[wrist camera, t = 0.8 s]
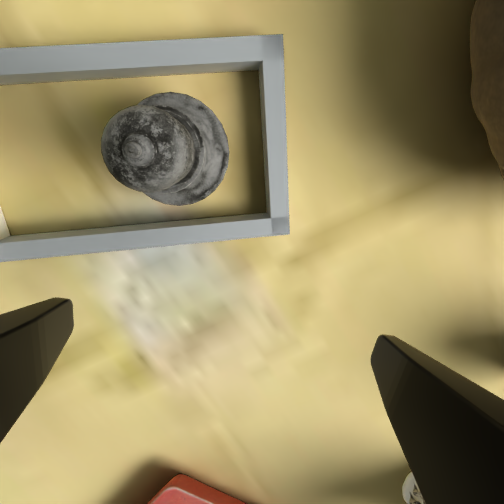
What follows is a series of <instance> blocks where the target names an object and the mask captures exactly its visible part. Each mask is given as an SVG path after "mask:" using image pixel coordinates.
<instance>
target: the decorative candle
mask: <svg viewBox="0 0 504 504" xmlns="http://www.w3.org/2000/svg"><path fill="white" fill-rule="evenodd" d="M402 494H403V498H404V500H405V501H406V502H407V504H425V502H424V499H423V497H422V495H421V492H420V490H419V488H418V485H417V483H416V481H415V478H414V476H413V474H412V471H411V472H410V473H409V474H408V475H407V477H406V479H405V481H404V483H403V486H402Z"/></svg>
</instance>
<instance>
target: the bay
mask: <svg viewBox="0 0 504 504" xmlns="http://www.w3.org/2000/svg"><path fill="white" fill-rule="evenodd" d="M251 70H259V86H260V104H261V121H262V138H263V156H264V173H265V191H266V208H267V213H257V214H246V215H235V216H224V217H213V218H202V219H191V220H180V221H169V222H158V223H147V224H136V225H125V226H114V227H103V228H92V229H81V230H70V231H59V232H48V233H37V234H26V235H15V236H10V233H9V230H8V227H7V224H6V221H5V218H4V215H3V212H2V210H1V207H0V262H6V261H16V260H26V259H37V258H47V257H58V256H68V255H78V254H89V253H99V252H110V251H120V250H130V249H141V248H151V247H162V246H172V245H182V244H193V243H203V242H214V241H224V240H234V239H245V238H255V237H266V236H276V235H286V234H290V229H289V199H288V169H287V139H286V109H285V78H284V48H283V34H277V35H257V36H237V37H217V38H197V39H177V40H157V41H137V42H116V43H96V44H76V45H56V46H36V47H16V48H0V85H9V84H27V83H44V82H61V81H78V80H96V79H113V78H130V77H148V76H165V75H182V74H199V73H217V72H234V71H251Z"/></svg>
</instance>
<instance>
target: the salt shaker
mask: <svg viewBox="0 0 504 504" xmlns="http://www.w3.org/2000/svg"><path fill="white" fill-rule="evenodd" d="M101 152H102V155H103V159H104V162H105V164H106V166H107V168H108V170H109V171H110V173H111V174H112V175H113V176H114V177H115V178H116V179H117V180H118V181H119V182H121V183H122V184H124V185H125V186H126V187H129V188H131V189H134V190H137V191H140V192H143V193H144V194H146V195H147V196H149V197H150V198H152V199H154V200H156V201H159V202H161V203H164V204H169V205H177V206H181V205H188V204H193V203H196V202H198V201H200V200H203V199H205V198H206V197H207V196H209V195H210V194H211V193H212V192H214V191H215V190H216V188H217V187H218V185H219V184H220V183H221V181H222V180H223V178H224V175H225V173H226V170H227V167H228V160H229V147H228V140H227V136H226V134H225V131H224V129H223V126H222V124H221V122H220V121H219V120H218V118H217V117H216V115H215V114H214V113H213V111H212V110H210V109H209V108H208V107H207V106H206V105H204V104H203V103H202V102H201V101H199V100H197V99H195V98H193V97H191V96H188V95H186V94H180V93H174V92H167V93H159V94H155V95H152V96H150V97H148V98H146V99H143V100H142V101H141V102H140V103H139V104H137V105H136V106H130V107H128V108H126V109H123V110H121V111H119V112H118V113H116V114H115V115H114V116H113V117H112V118H111V119H110V120H109V122H108V123H107V125H106V126H105V128H104V131H103V135H102V138H101Z"/></svg>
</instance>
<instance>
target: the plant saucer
mask: <svg viewBox="0 0 504 504" xmlns="http://www.w3.org/2000/svg"><path fill="white" fill-rule="evenodd" d="M147 504H246V503H244V502H242V501H240V500H238V499H236V498H234V497H231V496H229V495H227V494H225V493H223V492H221V491H218V490H216V489H214V488H212V487H210V486H208V485H206V484H204V483H201V482H199V481H197V480H195V479H193V478H191V477H188V476H186V475H184V474H178V475H176V476H175V477H173V478H172V479H171V480H170V481H169V482H168V483H167V484H166V485H165V486H164V487H163V488H162V489H161V490H160V491H159V492H158V493H157V494H156V495H155V496H154V497H153V498H152V499H151V500H150V501H149V502H148V503H147Z"/></svg>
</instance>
